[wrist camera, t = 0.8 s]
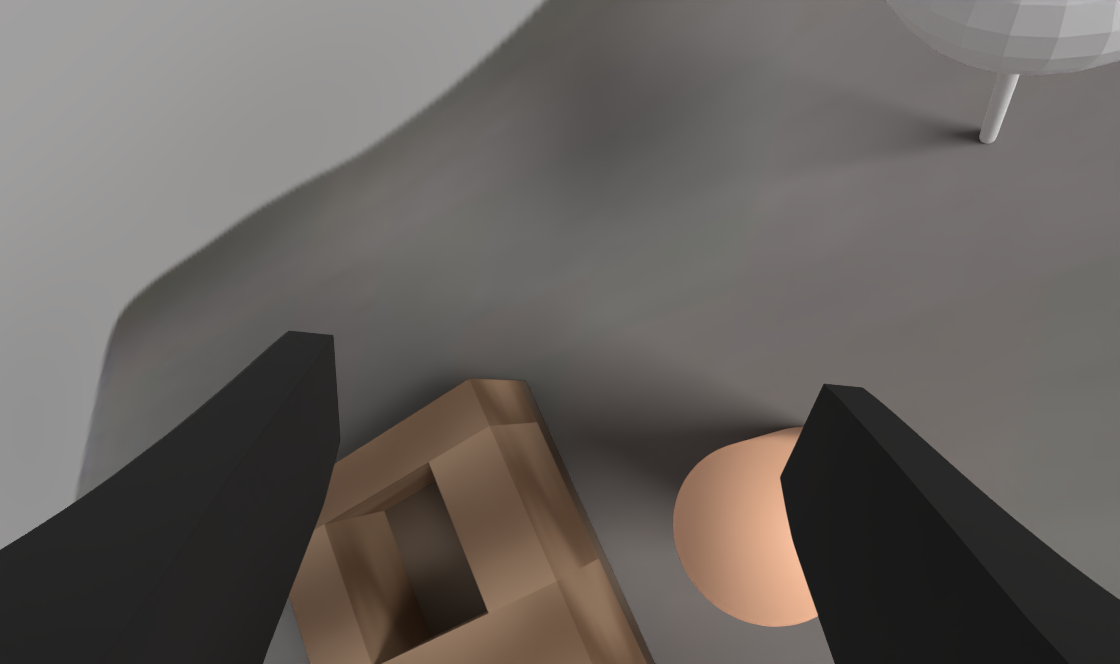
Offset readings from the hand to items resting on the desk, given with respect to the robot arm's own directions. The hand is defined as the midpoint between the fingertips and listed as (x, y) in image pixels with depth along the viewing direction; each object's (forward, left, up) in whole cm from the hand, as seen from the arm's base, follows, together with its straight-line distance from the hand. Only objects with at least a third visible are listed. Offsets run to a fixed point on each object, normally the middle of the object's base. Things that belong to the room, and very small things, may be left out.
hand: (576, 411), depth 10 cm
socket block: (-4, +13, -15) cm, 20 cm away
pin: (-3, 0, -15) cm, 15 cm away
